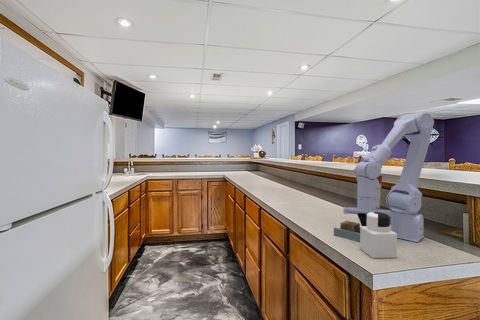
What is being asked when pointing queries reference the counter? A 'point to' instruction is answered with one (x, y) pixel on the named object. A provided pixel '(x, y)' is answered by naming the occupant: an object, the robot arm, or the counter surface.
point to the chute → (347, 234)
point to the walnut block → (350, 226)
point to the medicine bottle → (378, 236)
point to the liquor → (378, 191)
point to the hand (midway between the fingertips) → (365, 235)
